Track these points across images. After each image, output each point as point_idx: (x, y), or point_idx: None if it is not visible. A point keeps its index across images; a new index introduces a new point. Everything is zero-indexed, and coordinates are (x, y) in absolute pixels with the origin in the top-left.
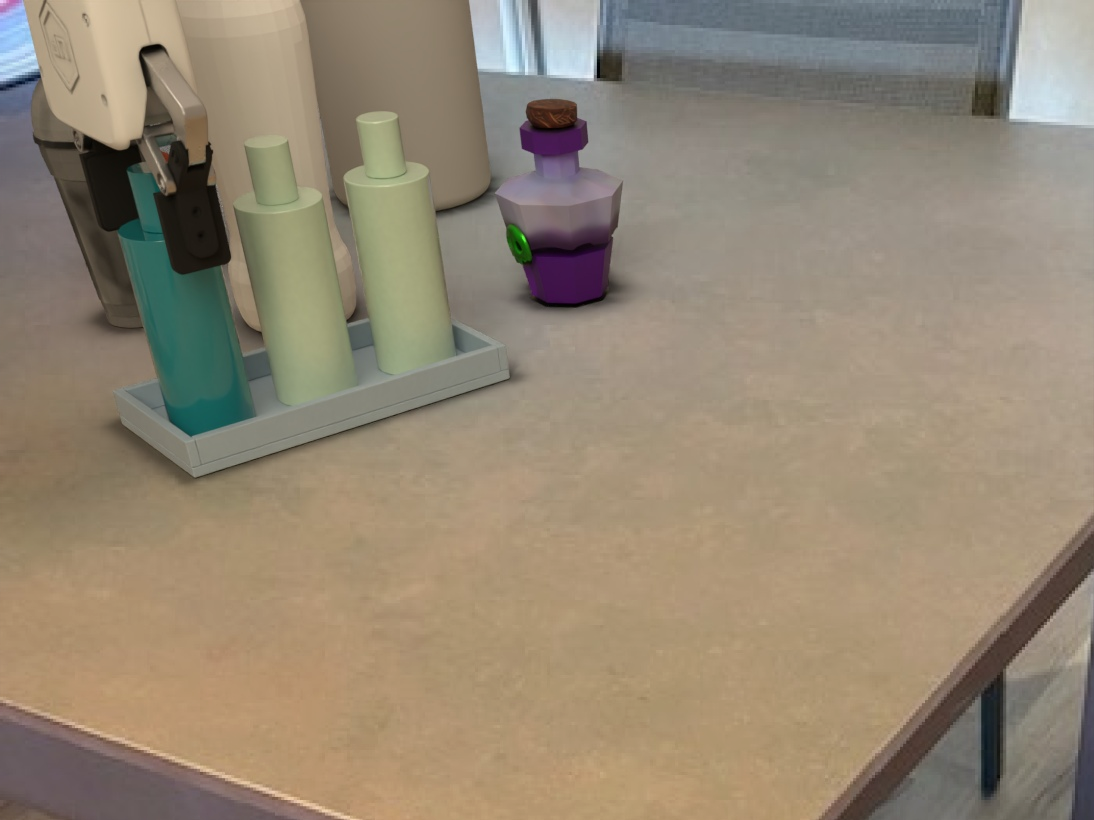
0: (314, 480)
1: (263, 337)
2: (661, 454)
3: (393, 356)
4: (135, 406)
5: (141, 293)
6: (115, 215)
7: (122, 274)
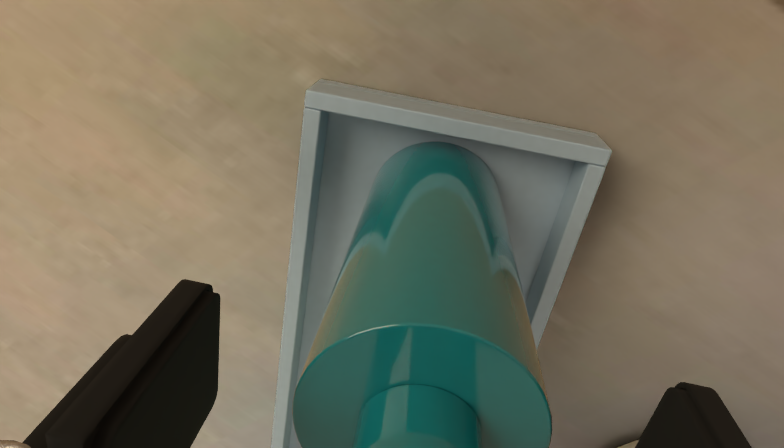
0: (191, 178)
1: None
2: (4, 415)
3: None
4: (511, 131)
5: (420, 246)
6: (667, 435)
7: None
